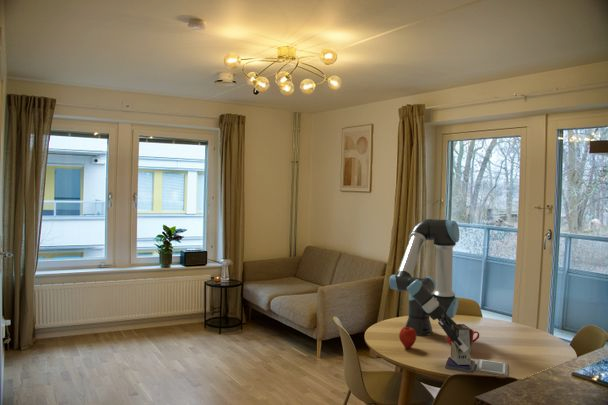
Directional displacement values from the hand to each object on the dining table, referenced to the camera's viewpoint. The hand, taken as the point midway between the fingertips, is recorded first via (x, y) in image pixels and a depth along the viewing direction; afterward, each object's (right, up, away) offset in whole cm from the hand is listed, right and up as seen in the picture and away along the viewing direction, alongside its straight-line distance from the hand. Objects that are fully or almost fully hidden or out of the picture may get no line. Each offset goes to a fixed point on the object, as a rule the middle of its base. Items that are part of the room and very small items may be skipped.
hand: (467, 346), depth 217 cm
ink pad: (-3, -9, +1) cm, 10 cm away
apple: (-22, -8, +24) cm, 34 cm away
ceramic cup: (+6, -9, +25) cm, 27 cm away
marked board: (+11, -10, 0) cm, 15 cm away
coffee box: (-3, -7, +1) cm, 8 cm away
